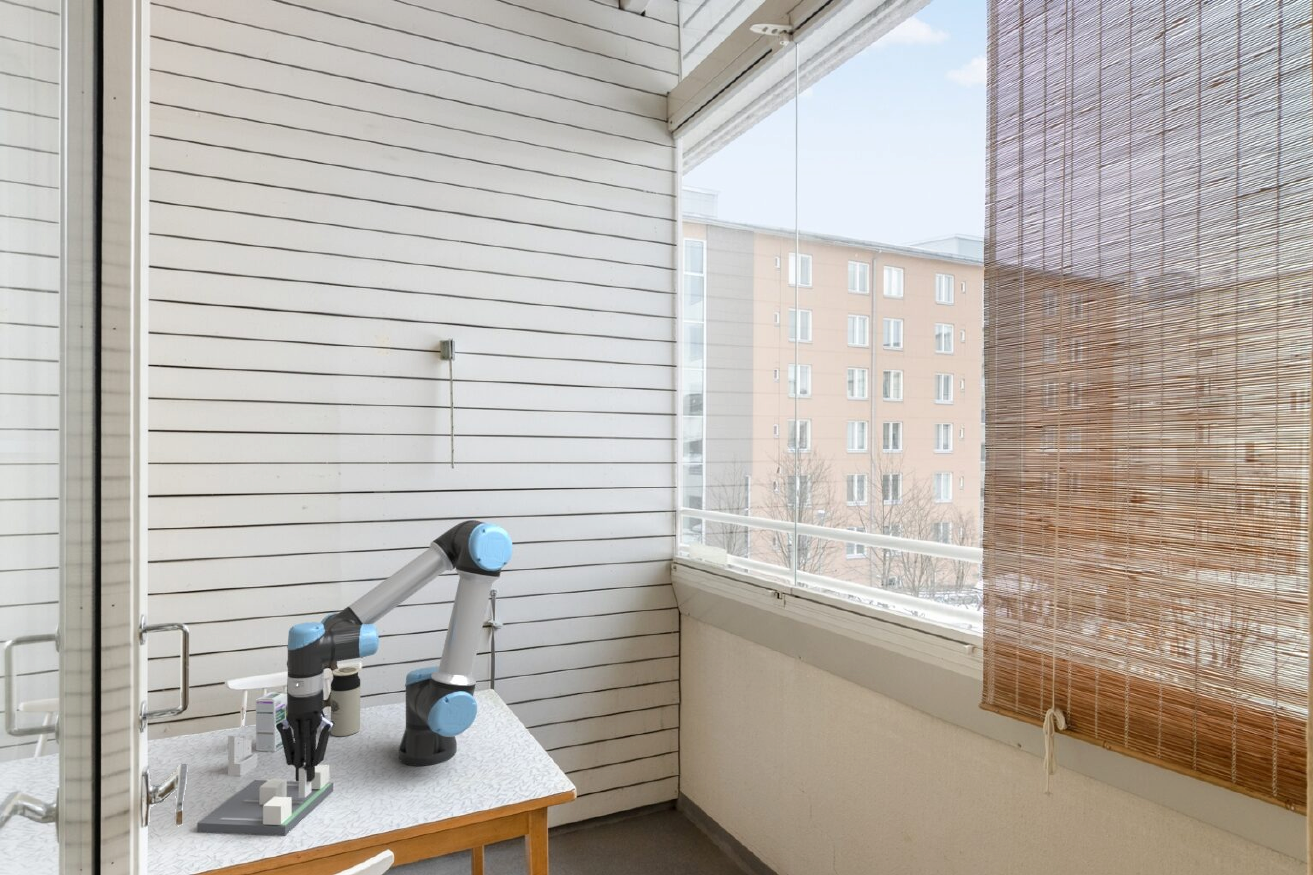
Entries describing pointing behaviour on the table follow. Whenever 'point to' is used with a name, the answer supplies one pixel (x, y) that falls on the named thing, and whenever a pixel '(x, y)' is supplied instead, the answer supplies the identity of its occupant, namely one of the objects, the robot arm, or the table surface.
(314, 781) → the white cubic piece
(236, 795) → the grey striped board
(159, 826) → the table surface
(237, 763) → the white wedge bracket
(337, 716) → the travel mug
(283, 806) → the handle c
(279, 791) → the white cubic block
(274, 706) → the syrup box
